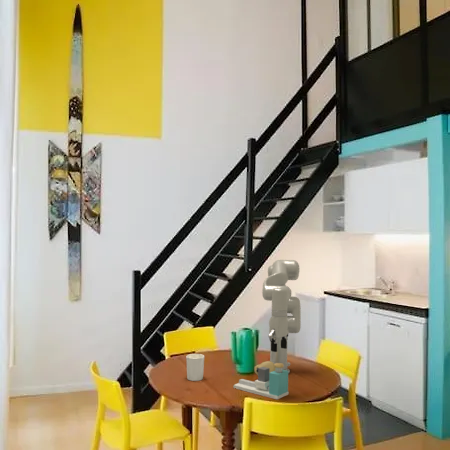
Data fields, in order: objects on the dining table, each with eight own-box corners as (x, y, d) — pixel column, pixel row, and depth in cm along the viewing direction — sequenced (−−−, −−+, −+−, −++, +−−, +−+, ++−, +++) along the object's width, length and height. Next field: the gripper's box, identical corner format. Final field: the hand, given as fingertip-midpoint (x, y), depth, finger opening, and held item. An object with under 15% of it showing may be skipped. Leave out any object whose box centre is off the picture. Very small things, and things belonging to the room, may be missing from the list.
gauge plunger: (277, 376, 245) (277, 362, 245) (285, 377, 242) (285, 364, 242) (272, 378, 241) (272, 364, 241) (280, 380, 238) (280, 365, 238)
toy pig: (253, 378, 269) (253, 358, 269) (275, 378, 269) (275, 358, 269) (255, 384, 259) (255, 363, 259) (278, 384, 259) (278, 363, 259)
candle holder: (192, 374, 274) (193, 352, 274) (207, 377, 269) (208, 355, 269) (182, 379, 265) (182, 356, 265) (197, 382, 260) (197, 359, 260)
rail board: (245, 383, 260) (245, 361, 260) (288, 394, 244) (288, 370, 244) (233, 388, 252) (233, 365, 252) (277, 399, 236) (277, 375, 236)
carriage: (262, 384, 251) (262, 365, 252) (272, 387, 248) (272, 367, 248) (254, 388, 246) (254, 368, 246) (264, 390, 242) (265, 370, 242)
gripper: (282, 310, 251) (281, 345, 251) (262, 314, 237) (262, 351, 237) (295, 312, 246) (294, 348, 246) (276, 316, 233) (275, 354, 232)
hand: (278, 349), depth 242 cm, fingers open, 8 cm apart
